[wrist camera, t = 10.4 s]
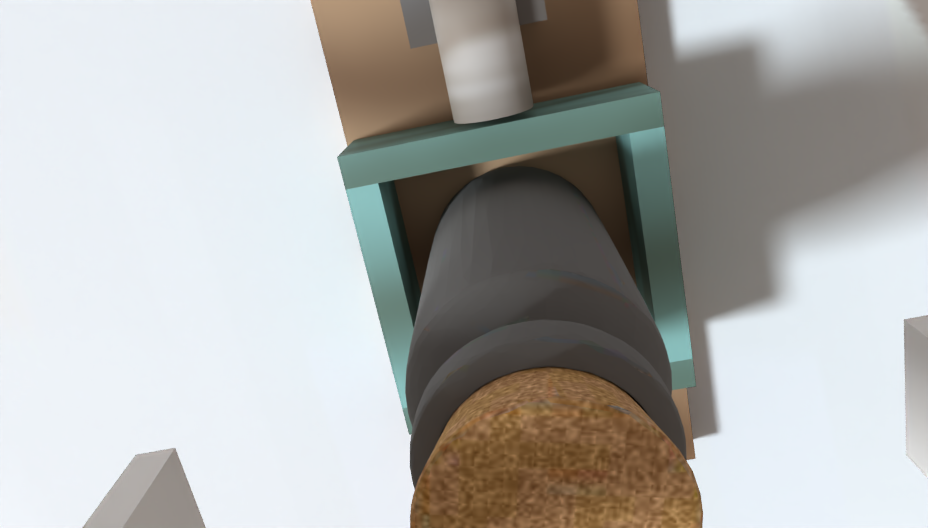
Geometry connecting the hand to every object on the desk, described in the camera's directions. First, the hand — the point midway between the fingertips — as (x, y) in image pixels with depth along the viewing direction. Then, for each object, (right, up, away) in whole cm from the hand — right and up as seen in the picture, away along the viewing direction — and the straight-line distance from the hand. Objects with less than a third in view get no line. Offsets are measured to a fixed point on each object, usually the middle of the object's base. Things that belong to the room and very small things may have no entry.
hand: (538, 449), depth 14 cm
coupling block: (+1, +4, +14) cm, 14 cm away
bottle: (+1, +4, +13) cm, 13 cm away
